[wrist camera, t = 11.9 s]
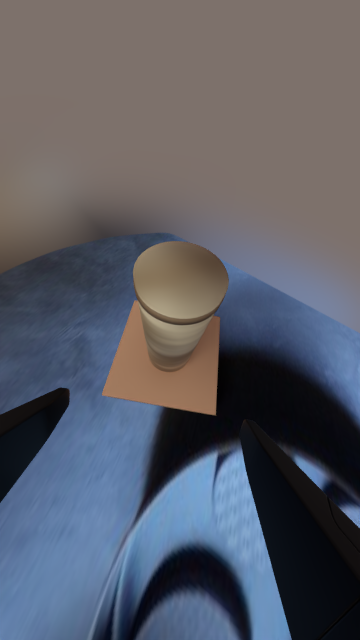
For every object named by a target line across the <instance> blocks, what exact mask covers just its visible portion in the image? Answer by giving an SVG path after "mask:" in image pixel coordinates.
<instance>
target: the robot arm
mask: <svg viewBox="0 0 360 640" xmlns="http://www.w3.org/2000/svg"><path fill="white" fill-rule="evenodd" d="M69 396H70V391H69V389H67V388H58V389H56V390H54V391H51V392H49V393H47V394H45V395H43V396H40V397H38V398H36V399H34V400H32V401H30V402H27V403H25V404H23V405H21V406H19V407H16V408H14V409H12V410H10V411H8V412H6V413H3V414H1V415H0V503H1V501H2V500H3V499H4V497H5V496H6V495H7V493H8V492H9V491H10V489H11V488H12V487H13V485H14V484H15V483H16V481H17V480H18V479H19V477H20V476H21V475H22V473H23V472H24V471H25V469H26V468H27V467H28V465H29V464H30V462H31V461H32V460H33V458H34V457H35V456H36V454H37V453H38V452H39V450H40V449H41V448H42V446H43V445H44V444H45V442H46V441H47V439H48V438H49V436H50V435H51V433H52V432H53V430H54V428H55V427H56V425H57V424H58V422H59V420H60V419H61V417H62V416H63V414H64V412H65V411H66V409H67V407H68V405H69ZM240 440H241V446H242V451H243V457H244V462H245V468H246V472H247V476H248V480H249V484H250V487H251V491H252V495H253V498H254V502H255V506H256V510H257V513H258V517H259V521H260V524H261V528H262V532H263V535H264V539H265V543H266V546H267V550H268V554H269V557H270V561H271V565H272V568H273V572H274V576H275V580H276V583H277V587H278V591H279V594H280V598H281V602H282V605H283V609H284V613H285V616H286V620H287V624H288V627H289V631H290V635H291V638H292V640H360V528H359V527H358V526H357V525H356V524H355V523H354V522H353V521H352V520H351V519H350V518H349V517H348V516H347V515H346V514H345V513H344V512H343V511H342V510H341V509H340V508H339V507H338V506H337V505H336V504H335V503H334V502H333V501H332V500H331V499H330V498H328V497H327V496H326V494H325V493H324V492H323V491H322V490H321V489H320V488H319V487H318V486H317V485H316V484H315V483H314V482H313V481H312V480H311V479H310V478H309V477H308V476H307V475H306V474H305V473H304V472H303V471H302V470H301V469H300V468H299V467H298V466H297V465H296V464H295V463H294V462H293V461H292V460H291V459H290V458H289V457H288V456H287V455H286V454H285V452H284V451H283V450H282V449H281V448H280V447H279V446H278V445H277V444H276V443H275V442H274V441H273V440H272V439H271V438H270V437H269V436H268V435H267V434H266V433H265V432H264V431H263V430H262V429H261V428H260V427H259V426H258V425H257V424H256V423H255V422H254V421H252V420H248V419H245V420H244V422H243V424H242V427H241V430H240Z"/></svg>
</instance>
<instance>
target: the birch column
mask: <svg viewBox="0 0 360 640" xmlns="http://www.w3.org/2000/svg"><path fill="white" fill-rule="evenodd" d="M133 277H134V288H135V293H136V297H137V299H138V304H139V309H140V314H141V319H142V324H143V329H144V335H145V340H146V345H147V350H148V355H149V359H150V361H151V363H152V364H153V365H154V366H155V367H156V368H157V369H159V370H161V371H164V372H175V371H178V370H180V369H181V368H183V367H184V366H185V365H186V363H187V362H188V360H189V358H190V356H191V354H192V353H193V351H194V349H195V347H196V346H197V344H198V342H199V340H200V338H201V337H202V335H203V333H204V331H205V329H206V328H207V326H208V324H209V322H210V321H211V319H212V317H213V315H214V313H215V312H216V311H217V310H218V308H219V306H220V305H221V303H222V301H223V299H224V297H225V294H226V291H227V289H228V283H229V279H228V274H227V270H226V268H225V266H224V265H223V263H222V262H221V261H220V259H219V258H218V257H217V256H215V255H214V254H213V253H212V252H210V251H209V250H207V249H205V248H203V247H201V246H198V245H196V244H192V243H188V242H181V241H171V242H164V243H160V244H157V245H154V246H152V247H150V248H149V249H147V250H145V251H144V252H143V253H142V254H141V255H140V256H139V258H138V259H137V261H136V263H135V265H134V270H133Z"/></svg>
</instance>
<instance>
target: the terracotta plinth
mask: <svg viewBox="0 0 360 640" xmlns="http://www.w3.org/2000/svg"><path fill="white" fill-rule="evenodd" d="M219 331H220V317H217V316H213V317H212V319H211V321H210V322H209V324H208V326H207V328H206V329H205V331H204V333H203V335H202V337H201V338H200V340H199V342H198V344H197V346H196V347H195V349H194V351H193V353H192V354H191V356H190V358H189V360H188V362H187V363H186V365H185V366H184V367H183V368H181V369H180V370H178V371H175V372H164V371H161V370H159V369H157V368H156V367H155V366H154V365H153V364H152V363H151V361H150V359H149V355H148V350H147V345H146V340H145V335H144V329H143V324H142V319H141V314H140V309H139V304H138V301H134V304H133V307H132V309H131V312H130V315H129V318H128V321H127V324H126V327H125V330H124V332H123V335H122V338H121V341H120V344H119V347H118V350H117V352H116V355H115V358H114V361H113V364H112V367H111V370H110V372H109V375H108V378H107V381H106V384H105V387H104V390H103V393H102V395H103V396H108V397H113V398H118V399H124V400H130V401H135V402H141V403H146V404H152V405H158V406H163V407H169V408H175V409H180V410H186V411H191V412H197V413H203V414H208V415H216V397H217V375H218V353H219Z"/></svg>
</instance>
